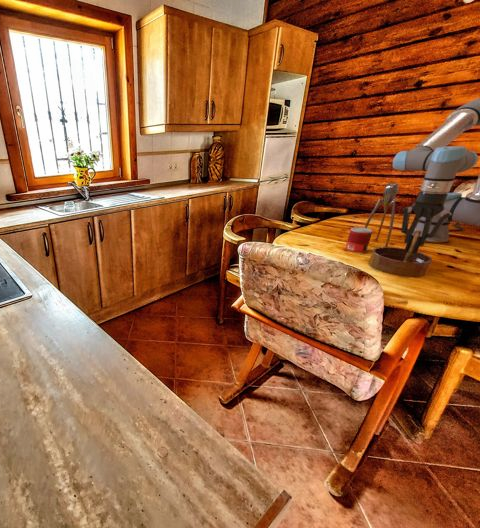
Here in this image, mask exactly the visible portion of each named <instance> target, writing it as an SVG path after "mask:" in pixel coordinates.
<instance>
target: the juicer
mask: <svg viewBox="0 0 480 528" xmlns="http://www.w3.org/2000/svg"><path fill="white" fill-rule="evenodd" d="M398 192H399V185H398V183H396V182H391V183H388V184H387V185H386V186H385V187H384V189H383V194H382V198H379V199H378V201H377V202H376V204H375V207H374V208H373V210H372V211H371V213H370V214H369V217H368V219H367V220H366V223H365V225H364V227H363V228H368V226H369V224H370V222H371V220H372V218H373V216H374V214H375V213H376V211H377V209H378V208H379V206H380V205H381V204H382V205H383V211H384V212H383V215H382V218H381V221H380V225H379V227H378V231H377V235H376V238H375V241H376V242H378V240H379V237H380V234H381V231H382V229H383V225H384V222H385V218H386V215H387V211H388V207H389V206H390V205H391V214H390V223H389V228H388V234H387V237H386V242H385V246H384V247H389V242H390V239H391V235H392V230H393V226H394V221H395V215H396V214H395V213H396V199H395V197H396V196H397V194H398Z"/></svg>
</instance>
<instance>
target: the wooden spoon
mask: <svg viewBox="0 0 480 528" xmlns="http://www.w3.org/2000/svg"><path fill="white" fill-rule="evenodd" d="M420 235H421V231H415V233H414V235H413V238H412V241H411V243H410V246H409V248H408V251H407V254H406V256H405V259H404V262H410V260H411V258H412V255H413V253H412V252H413V250H414V247H415V245H416V242H417V239H418V237H420Z"/></svg>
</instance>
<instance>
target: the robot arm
mask: <svg viewBox="0 0 480 528" xmlns="http://www.w3.org/2000/svg"><path fill="white" fill-rule="evenodd" d="M479 126H480V97H478V98H475V99H473V100H471V101H469V102H467V103H465V104H463V105H461V106H459V107H458V108H456V109H455V110H453V111H452V112H451V113H450V114H449V115H448V116H447V117H446V119H445V121H444V122H443V123H441V125H439V126H438V127H437V128H436V129H435V130H434V131H432V132H431V133H430V134H429V135H427V137H425V138H424V139H423V140H421V142H419V143H418V144H416V146H414V148H412V149H411V150H401V151H399V152H398V153H396V155H394V158H393V160H392V168H393V169H394V170H396V171H404V172H407V171H408V172H425V174H424V178H423V179H422V183H421V186H420V188H419V192H418V194H417V196H416V199H415V202H414V203H413V204H412V206H409V207H408V206H407V207H403V208H402V210H401V211H402V213H403V217H402V223H401V231H400V232H401V234H405V238H404V240H403V243H404V244H406V245H405V248H404V249H405V250H404V252H407V251H408V248H409V246H410V243H411V241H412V238H413V235H414V233H415V231H421V235H420V237H418V239H417V242H416V245H415V247H414V250H413V252H412V253H413V254H415V253H417V252H419V249H420V247H423V246H424V245H425V243H430V244H445V243H447V242H448V241H449V239H450V232H457V231H464V227H463V226H460V225H459V224H462V225H463V224H464V225H469V226H475V227H480V173H479V174H478V178H477V180H476V182H475V185H474V188H473V191H471V192H468V193H467V194H466V195H465V196H464V197H463V194H462V193H460V192H450V191H451V189H452V186H453V183H454V182H455V181H454V180H455V178H456V177H457V174H460V173H464V172H466V171H468V170H471V169H472V168H474V167H475V166H476V165H477V164H478V162H479V156H478V154H477V152H475V151H473V150H467V147H466V146H464V145H463V146H462V145H461V146H459V145H458V146H448V145H450V144H451V143H452V142H453V141H454V140H455V139H457V138H458V137H459V136H461V134H463V132H466V131H469V130H470V129H472V128H474V127H479ZM412 211H413V213H414V214H415V216H414V218H413V220H412V222H411V224H410V226H409V223H410V216H411V213H412ZM452 222H453V223H454V224H453V225H454V227H457V228H452V229H449V226H450V223H452Z"/></svg>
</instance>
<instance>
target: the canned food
mask: <svg viewBox="0 0 480 528" xmlns="http://www.w3.org/2000/svg"><path fill="white" fill-rule="evenodd" d="M372 234H373V230H372V229H371V228H368V227H367V228H364V227H362V226H361V227H360V226H354V227H351V228H350V231H349V234H348V238H347V241H346V245H345V251H348V252H351V253H358V254H363V253H366V252H367V250H368V247H369V244H370V241H371V239H372Z"/></svg>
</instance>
